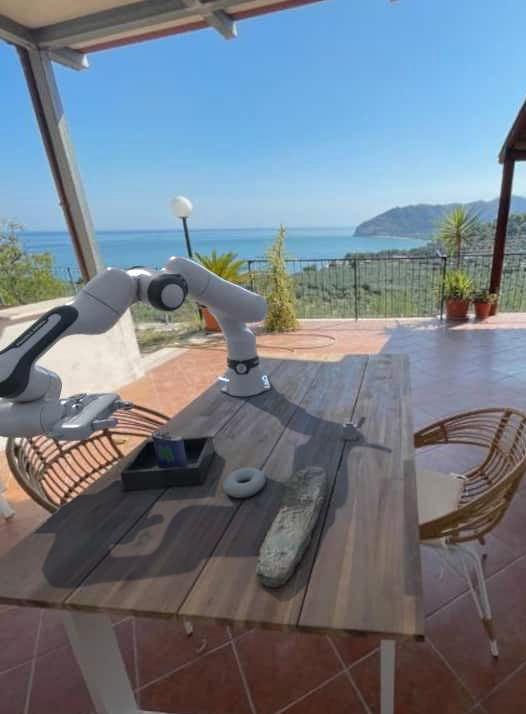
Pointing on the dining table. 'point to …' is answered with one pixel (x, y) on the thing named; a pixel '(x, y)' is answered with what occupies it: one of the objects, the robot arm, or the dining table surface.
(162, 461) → the flask
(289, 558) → the elongated rock
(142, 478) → the tray
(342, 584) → the dining table surface
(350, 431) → the lighter
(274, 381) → the dining table surface
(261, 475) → the donut
